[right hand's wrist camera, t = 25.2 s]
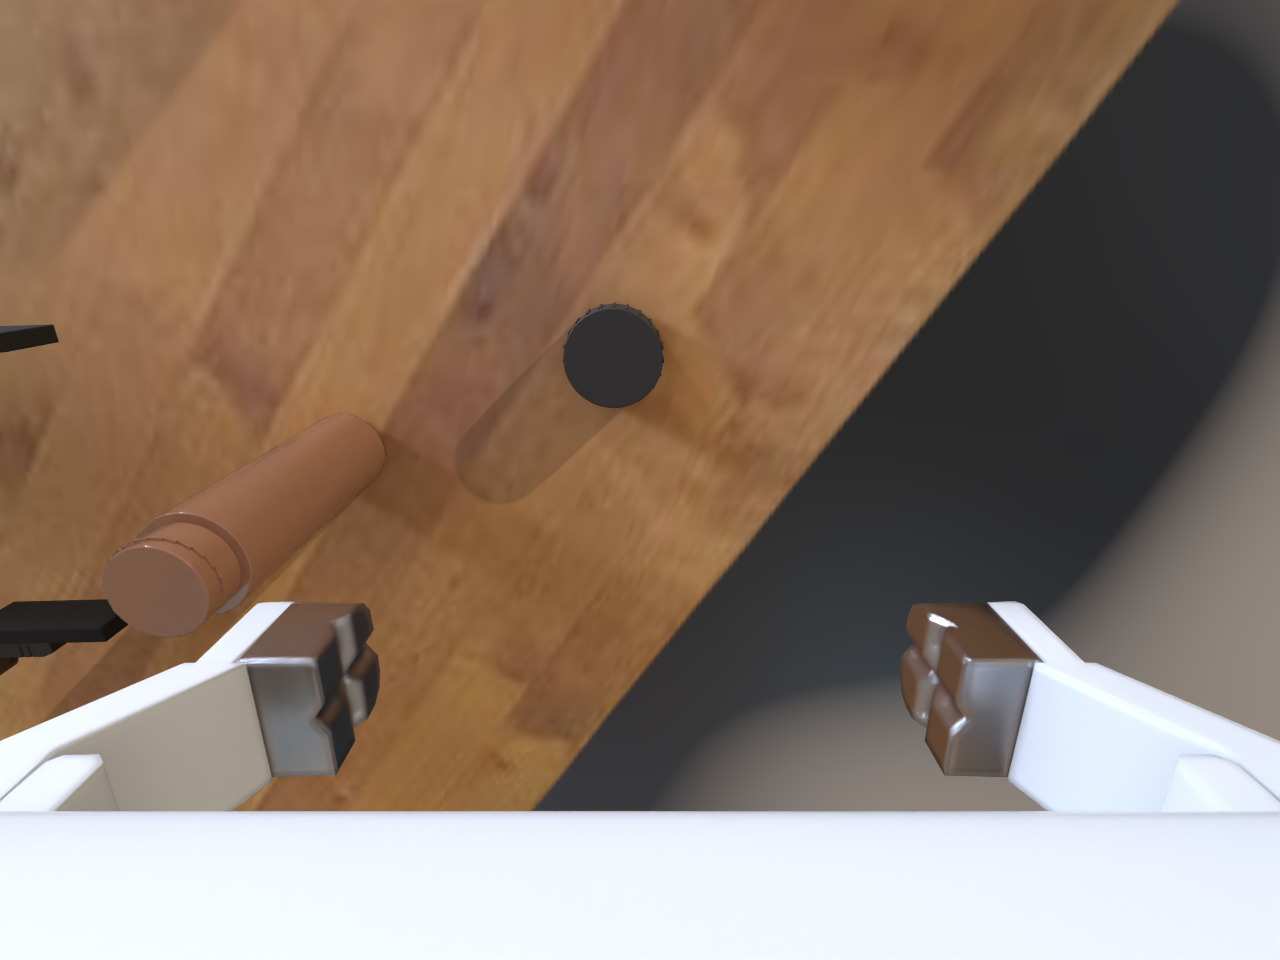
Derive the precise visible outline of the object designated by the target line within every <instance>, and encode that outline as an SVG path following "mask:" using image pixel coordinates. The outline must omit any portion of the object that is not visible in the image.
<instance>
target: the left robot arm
mask: <svg viewBox="0 0 1280 960" xmlns="http://www.w3.org/2000/svg"><path fill="white" fill-rule="evenodd" d="M56 342H59V341H58V338H57V335H56V332H55V329H54V325H26V326H0V352H9V351H14V350H19V349H25V348H30V347H35V346H40V345H46V344H51V343H56ZM112 609H113V608H112V607H111V605H110V604H109V602H108V600H107V599H106V600H67V601H28V602H13V603H11V604H9V605H8V606H6V607H4V608H3V609H1V610H0V675H1V674H3V673H4V672H6V671H7V670H8V669H10V668H11V667H13V666H14V665H16V664H17V662H18V657H32V656H33V657H44V656H46V655H49V654H51V653H53V652H55V651H56V650H57V649H59V648H60V647H62V646H63V645H64V644H66V643H71V642H106V641H107V640H109V639H110V638H111V637H113V636H114V635H115V634H117V633H118V632H119V631H121V630H122V629H123V628H124V627H126V626H127V625H128V624H127V623H126V622H125V621H124V620H122V619H121V618H120V617H119V616H118V615H117V614H116V613H115V612H114V611H113V610H112Z"/></svg>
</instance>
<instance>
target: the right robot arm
mask: <svg viewBox="0 0 1280 960" xmlns="http://www.w3.org/2000/svg"><path fill="white" fill-rule="evenodd" d="M373 630H374V629H373V624H372V619H371V613H370V610H369V609H368V608H367V606H366V605H365V604H364V603H312V602H299V603H296V602H265V603H258V604H256V605H255V606H254V607H253V608H252V609H251V610H250V611H249V612H248V613H247V614H246V615H245V616H244V617H243V618H242V619H241V620H240V621H239V622H238V623H237V624H235V625H234V626H233V627H232V628H231V629H230V630H229V631H228V632H227V633H226V634H225V635H224V636H223V637H222V638H221V639H220V640H219V641H218V642H217V643H216V644H215V645H213V646H212V647H211V648H210V649H209V650H208V651H207V652H206V653H205V654H204V655H203V656H202V657H201V658H200V659H199V660H198V661H197V662H196V663H183V664H180V665H178V666H176V667H173V668H171V669H169V670H166V671H164V672H162V673H159V674H157V675H154V676H152V677H150V678H147V679H145V680H143V681H140V682H138V683H136V684H133V685H131V686H129V687H126V688H124V689H122V690H119V691H117V692H114V693H112V694H110V695H107V696H105V697H103V698H100V699H98V700H96V701H93V702H91V703H89V704H86V705H84V706H82V707H79V708H77V709H74V710H72V711H70V712H67V713H65V714H63V715H60V716H58V717H56V718H53V719H51V720H49V721H46V722H44V723H42V724H39V725H37V726H34V727H32V728H30V729H27V730H25V731H23V732H20V733H18V734H16V735H13V736H11V737H9V738H6V739H4V740H2V741H0V960H1280V741H1278V740H1276V739H1273V738H1271V737H1269V736H1266V735H1264V734H1262V733H1259V732H1257V731H1255V730H1252V729H1250V728H1247V727H1245V726H1243V725H1240V724H1238V723H1236V722H1233V721H1231V720H1229V719H1226V718H1224V717H1222V716H1219V715H1217V714H1215V713H1212V712H1210V711H1208V710H1205V709H1203V708H1201V707H1198V706H1196V705H1194V704H1191V703H1189V702H1186V701H1184V700H1182V699H1179V698H1177V697H1175V696H1172V695H1170V694H1168V693H1165V692H1163V691H1161V690H1158V689H1156V688H1154V687H1151V686H1149V685H1147V684H1144V683H1142V682H1139V681H1137V680H1135V679H1133V678H1130V677H1128V676H1125V675H1123V674H1121V673H1118V672H1116V671H1114V670H1111V669H1109V668H1107V667H1104V666H1102V665H1100V664H1097V663H1084V662H1083V661H1082V660H1081V659H1080V658H1079V657H1078V656H1077V655H1076V654H1075V653H1074V652H1073V651H1072V650H1071V649H1070V648H1069V647H1068V646H1067V645H1066V644H1064V643H1063V642H1062V641H1061V640H1060V639H1059V638H1058V637H1057V636H1056V635H1055V634H1054V633H1053V632H1052V631H1051V630H1050V629H1049V628H1048V627H1047V626H1046V625H1045V624H1044V623H1043V622H1042V621H1040V620H1039V619H1038V618H1037V617H1036V616H1035V615H1034V614H1033V613H1032V612H1031V611H1030V610H1029V609H1028V608H1027V607H1026V606H1025V605H1024V604H1021V603H1018V602H1015V601H1013V602H989V603H987V602H981V603H942V604H917V605H913V607H912V609H911V611H910V614H909V617H908V623H907V629H906V630H907V631H908V633H909V634H910V636H911V637H912V639H913V641H914V642H915V643H914V644H913V645H912V646H911V647H910V648H909V649H908V650H907V651H906V652H905V653H904V654H903V655H902V663H901V671H900V679H901V689H902V695H903V699H904V702H905V705H906V707H907V709H908V711H909V713H910V715H911V717H912V719H914V720H915V721H917V722H918V723H920V724H921V725H923V726H924V727H926V728H927V731H926V737H925V742H926V744H927V745H928V747H929V749H930V751H931V752H932V754H933V756H934V758H935V759H936V761H937V763H938V765H939V766H940V768H941V770H942V772H943V773H944V775H948V776H985V777H1008V779H1007V780H1008V781H1009V782H1011V783H1012V784H1013V785H1015V786H1016V787H1017V788H1019V789H1020V790H1021V791H1022V792H1024V793H1025V794H1026V795H1028V796H1029V797H1030V798H1032V799H1033V800H1034V801H1036V802H1037V803H1038V804H1039V805H1041V806H1042V807H1043V808H1045V809H1046V810H1047V811H233V810H234V809H236V808H237V807H238V806H239V805H241V804H242V803H243V802H245V801H246V800H247V799H249V798H250V797H251V796H253V795H254V794H255V793H256V792H258V791H259V790H260V789H262V788H263V787H264V786H266V785H267V784H268V783H270V782H271V781H272V777H294V776H330V775H336V774H337V772H338V770H339V768H340V767H341V765H342V763H343V761H344V759H345V758H346V756H347V754H348V752H349V751H350V749H351V747H352V745H353V744H354V742H355V737H354V731H353V728H354V727H356V726H357V725H359V724H360V723H362V722H363V721H365V720H367V719H368V717H369V715H370V713H371V711H372V709H373V707H374V705H375V702H376V698H377V694H378V689H379V679H380V669H379V661H378V655H377V654H376V653H375V652H374V651H373V650H372V649H371V648H370V647H369V646H368V645H367V644H366V643H365V642H366V641H367V639H368V638H369V636H370V634H371V633H372V631H373Z"/></svg>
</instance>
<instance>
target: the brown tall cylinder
mask: <svg viewBox="0 0 1280 960" xmlns="http://www.w3.org/2000/svg"><path fill="white" fill-rule="evenodd" d="M384 462H385V450H384V446H383V443H382V440H381V438H380V437H379V435H378V433H377V432H376V431H375V430H374V429H373V428H372V427H371V426H370V425H369V424H368V423H366V422H365V421H363V420H361V419H359V418H357V417H354V416H351V415H344V414H337V415H332V416H328V417H326V418H324V419H322V420H320V421H319V422H317V423H315V424H314V425H312V426H310V427H309V428H307V429H305V430H303V431H302V432H300V433H298V434H297V435H295V436H293V437H292V438H290V439H288V440H286V441H285V442H283V443H281V444H280V445H278V446H276V447H275V448H273V449H271V450H269V451H268V452H266V453H264V454H263V455H261V456H259V457H258V458H256V459H254V460H253V461H251V462H249V463H247V464H246V465H244V466H242V467H241V468H239V469H237V470H236V471H234V472H232V473H230V474H229V475H227V476H225V477H224V478H222V479H220V480H219V481H217V482H215V483H213V484H212V485H210V486H208V487H207V488H205V489H203V490H202V491H200V492H198V493H196V494H195V495H193V496H191V497H190V498H188V499H186V500H185V501H183V502H181V503H179V504H178V505H176V506H174V507H173V508H171V509H169V510H168V511H166V512H164V513H162V514H161V515H159V516H157V517H156V518H154V519H152V520H151V521H150V522H148V523H147V524H146V525H145V526H144V527H143V528H142V530H141V531H140V532H139V535H138V537H137V539H134V540H132V541H131V542H129V543H127V544H125V545H124V546H122V547H120V548H119V549H118V550H117V551H116V552H115V553H114V555H113V556H112V557H111V558H110V559H109V561H108V564H107V566H106V569H105V570H104V575H103V587H104V592H105V595H106V598H107V600H108V602H109V604H110V605H111V607H112V608H113V609H112V610H113V611H114V612H115V613H116V614H117V615H118V616H119V617H120V618H121V619H122V620H124V621H125V622H126V623H127V624H129V625H130V626H132V627H134V628H135V629H137V630H139V631H141V632H144V633H146V634H149V635H153V636H158V637H167V638H168V637H179V636H183V635H186V634H189V633H191V632H193V631H195V630H196V629H198V628H199V627H200V626H201V625H202V624H203V623H204V622H205V621H207V620H208V619H209V618H210V617H211V616H212V615H218V614H222V613H225V612H228V611H230V610H232V609H234V608H235V607H237V606H238V605H239V604H240V603H241V602H243V601H244V600H245V599H246V598H247V597H248V596H249V595H250V594H251V593H252V592H253V591H254V590H255V589H257V588H258V587H259V586H260V585H261V584H262V583H263V582H264V581H265V580H266V579H267V578H268V577H269V576H271V575H272V574H273V573H274V572H275V571H276V570H277V569H278V568H279V567H280V566H281V565H282V564H283V563H285V562H286V561H287V560H288V559H289V558H290V557H291V556H292V555H293V554H294V553H295V552H296V551H297V550H299V549H300V548H301V547H302V546H303V545H304V544H305V543H306V542H307V541H308V540H309V539H310V538H312V537H313V536H314V535H315V534H316V533H317V532H318V531H319V530H320V529H321V528H322V527H323V526H324V525H326V524H327V523H328V522H329V521H330V520H331V519H332V518H333V517H334V516H335V515H336V514H337V513H338V512H340V511H341V510H342V509H343V508H344V507H345V506H346V505H347V504H348V503H349V502H350V501H351V500H352V499H354V498H355V497H356V496H357V495H358V494H359V493H360V492H361V491H362V490H363V489H364V488H365V487H366V486H368V485H369V484H370V483H371V482H372V481H373V480H374V479H375V478H376V477H377V476H378V475H379V474H380V472H381V470H382V468H383V466H384Z"/></svg>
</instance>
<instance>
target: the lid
mask: <svg viewBox="0 0 1280 960" xmlns="http://www.w3.org/2000/svg"><path fill="white" fill-rule="evenodd" d="M575 323H576V325H575V326H574V328H573V329H572V328H571V330H570V331H569V332H568V335H569V336H568V338H567V340H566V343H565V345H564V347H563V348H564V355H563V362H564V368H565V372H566V375H567V377H568V379H569V381H570V383H571V385H572V386H573V388H574V389H575V390H576V391H577V392H578V393H579V394H580V395H581V396H582V397H583V398H585V399H586V400H588V401H590V402H591V403H594V404H596V405H599V406H603V407H608V408H619V407H625V406H629V405H631V404H634V403H636V402H638V401H640V400H641V399H643V398H644V397H645V396H646V395H647V394H648V393H649V392H650V391H651V390H652V389H653V388H654V387H655V385H656V383H657V381H658V379H659V376H661V370H662V364H663V363H664V358H663V354H662V349H663V344H662V342H660V338H659V331H658V330H656V329H655V327H654V325H653V324H652V321H651V319H648V318H647V317H646V316H645V315H644V314H642V313H641V310H639V311H638V310H636V309H634V308H632V307H629V305H628V304H627V306H626V305H620V304H616V303H615V302H614V303H613V304H608V305H602V304H600V306H599V307H597V308H594V309H592V310H590V309H589V310H588V311H587V312H586V314H585V315H584V316H582V317H581V318H578V319H577V321H576V322H575Z"/></svg>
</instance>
